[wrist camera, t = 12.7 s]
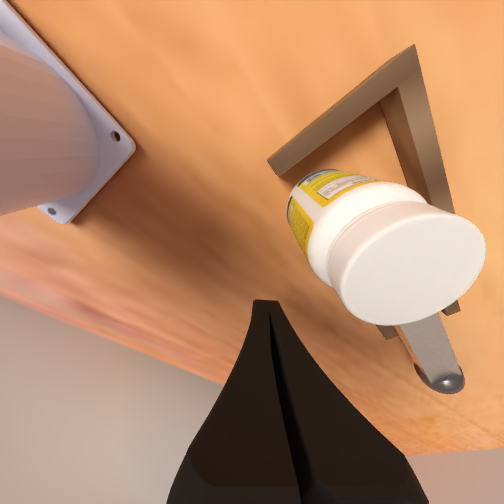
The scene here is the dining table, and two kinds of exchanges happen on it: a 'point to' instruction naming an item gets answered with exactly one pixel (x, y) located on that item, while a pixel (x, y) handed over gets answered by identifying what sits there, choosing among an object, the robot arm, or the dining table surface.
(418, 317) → the supplement bottle
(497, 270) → the dining table surface
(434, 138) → the mount
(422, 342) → the lock pin
